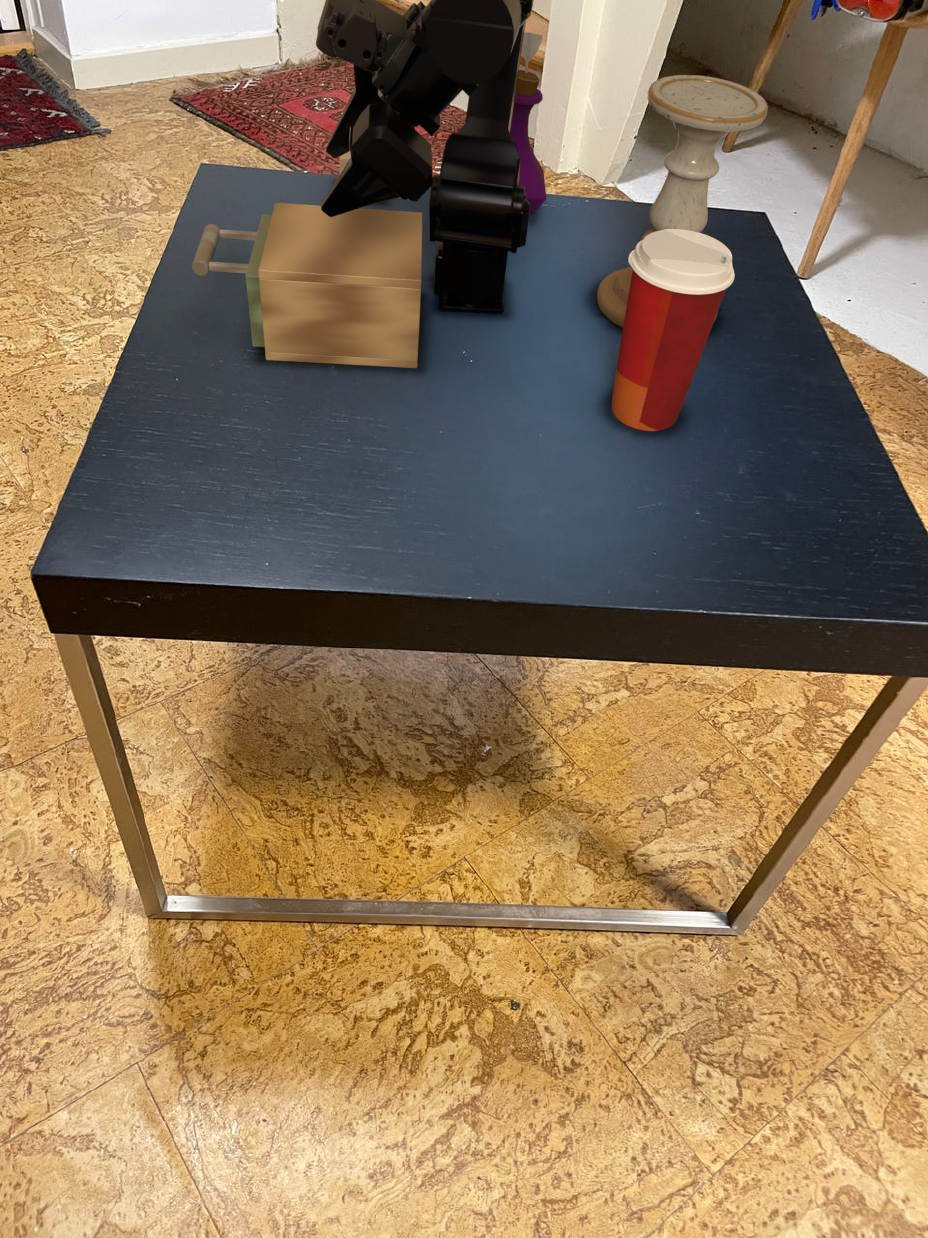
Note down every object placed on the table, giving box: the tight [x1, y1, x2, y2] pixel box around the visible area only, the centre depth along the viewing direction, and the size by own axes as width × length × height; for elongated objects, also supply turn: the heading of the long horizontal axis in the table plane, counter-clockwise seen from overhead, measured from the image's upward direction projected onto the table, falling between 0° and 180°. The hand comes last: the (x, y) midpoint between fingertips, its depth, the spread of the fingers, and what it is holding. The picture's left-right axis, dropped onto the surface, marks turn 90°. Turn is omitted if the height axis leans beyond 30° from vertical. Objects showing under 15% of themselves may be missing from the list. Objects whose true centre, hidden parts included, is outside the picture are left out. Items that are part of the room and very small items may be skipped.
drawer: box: [191, 213, 272, 348], centre depth 86 cm, size 17×11×7 cm, turn 91°
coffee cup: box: [611, 229, 736, 432], centre depth 79 cm, size 8×8×15 cm
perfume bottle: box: [510, 31, 547, 218], centre depth 103 cm, size 8×8×18 cm
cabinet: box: [258, 202, 423, 369], centre depth 87 cm, size 14×13×9 cm
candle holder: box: [596, 74, 769, 329], centre depth 90 cm, size 12×12×20 cm
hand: (327, 182), depth 79 cm, fingers open, 9 cm apart
